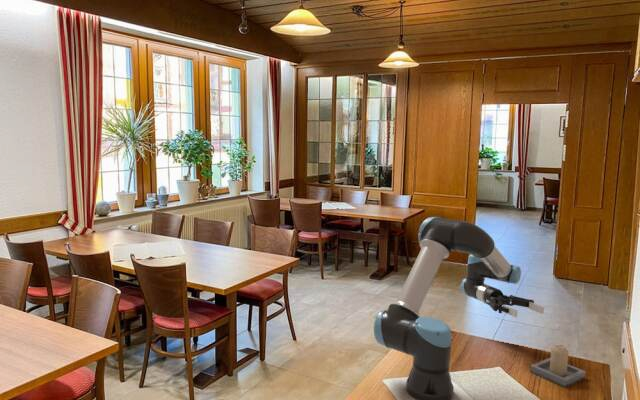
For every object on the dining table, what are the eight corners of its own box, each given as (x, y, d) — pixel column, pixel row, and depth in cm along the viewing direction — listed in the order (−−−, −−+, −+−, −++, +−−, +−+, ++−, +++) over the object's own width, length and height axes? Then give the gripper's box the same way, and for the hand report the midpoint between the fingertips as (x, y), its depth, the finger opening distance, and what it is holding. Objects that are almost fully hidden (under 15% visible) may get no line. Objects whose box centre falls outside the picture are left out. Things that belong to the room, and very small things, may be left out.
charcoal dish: (565, 387, 164) (565, 380, 164) (530, 371, 175) (530, 365, 174) (585, 378, 171) (585, 371, 171) (550, 363, 182) (550, 357, 182)
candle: (557, 368, 176) (559, 342, 175) (570, 375, 171) (572, 348, 170) (545, 370, 174) (548, 344, 173) (558, 377, 169) (560, 350, 168)
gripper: (511, 301, 209) (552, 318, 190) (466, 306, 200) (504, 324, 180) (513, 284, 209) (554, 299, 189) (467, 289, 199) (505, 305, 179)
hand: (529, 312), depth 185 cm, fingers open, 13 cm apart
